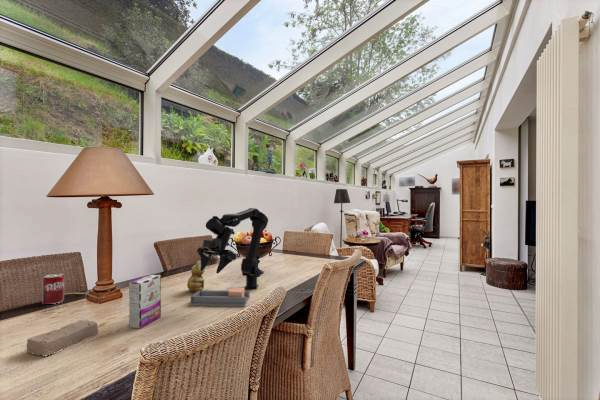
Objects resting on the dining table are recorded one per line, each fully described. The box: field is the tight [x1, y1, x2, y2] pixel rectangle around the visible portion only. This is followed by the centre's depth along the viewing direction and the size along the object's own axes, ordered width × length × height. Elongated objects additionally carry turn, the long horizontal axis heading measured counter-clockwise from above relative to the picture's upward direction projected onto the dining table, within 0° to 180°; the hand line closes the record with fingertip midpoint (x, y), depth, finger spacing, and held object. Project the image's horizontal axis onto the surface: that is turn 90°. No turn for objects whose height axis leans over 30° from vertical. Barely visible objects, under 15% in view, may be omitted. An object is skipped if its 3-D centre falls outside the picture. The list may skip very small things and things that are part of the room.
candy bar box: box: [128, 274, 162, 329], centre depth 108 cm, size 11×5×16 cm, turn 168°
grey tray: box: [189, 289, 251, 308], centre depth 130 cm, size 12×24×4 cm, turn 90°
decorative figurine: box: [186, 259, 206, 293], centre depth 146 cm, size 10×8×15 cm
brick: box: [26, 319, 99, 357], centre depth 92 cm, size 17×8×5 cm, turn 164°
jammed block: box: [228, 287, 246, 297], centre depth 130 cm, size 6×6×4 cm
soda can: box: [41, 273, 65, 305], centre depth 127 cm, size 7×7×12 cm
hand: (209, 271), depth 125 cm, fingers open, 9 cm apart
